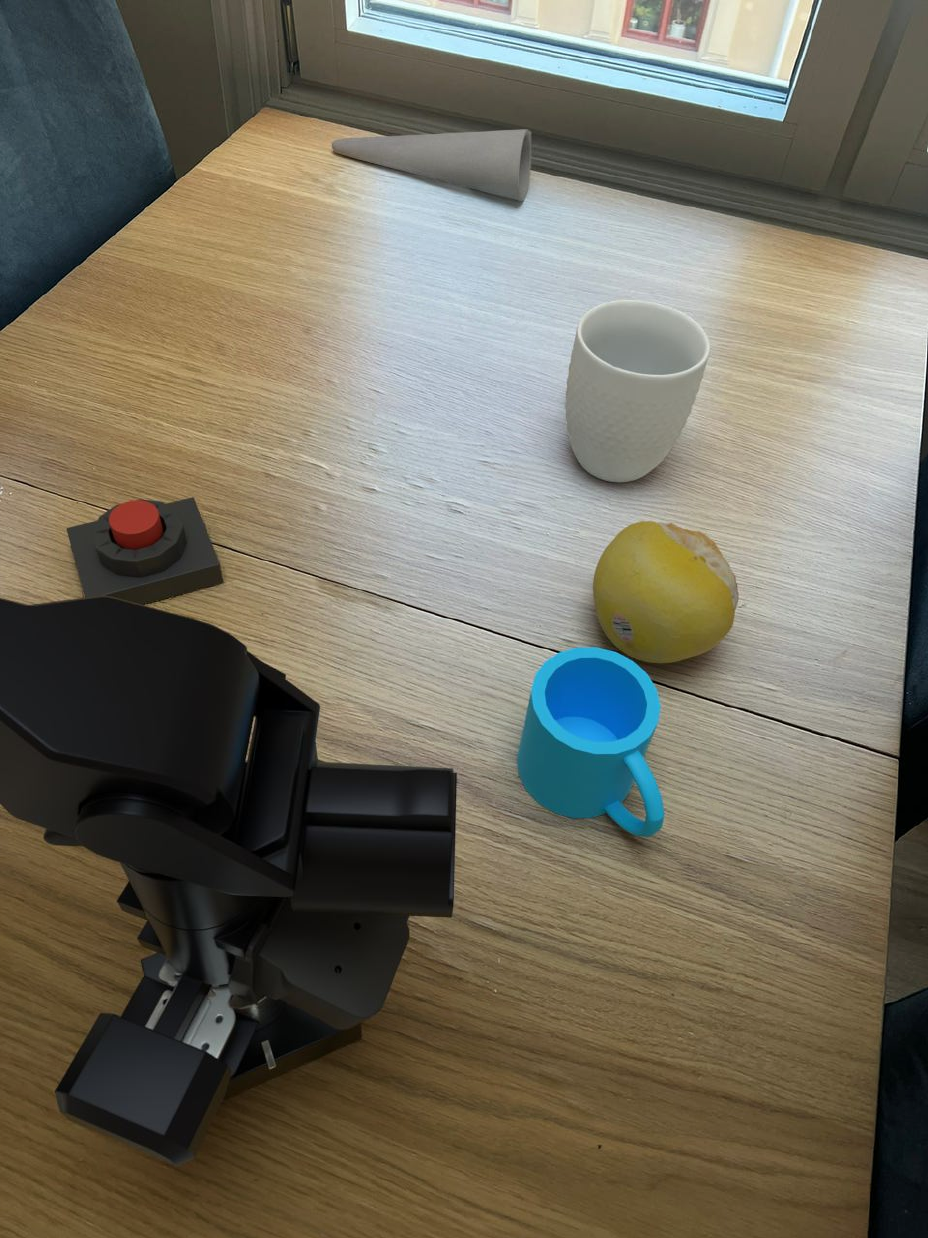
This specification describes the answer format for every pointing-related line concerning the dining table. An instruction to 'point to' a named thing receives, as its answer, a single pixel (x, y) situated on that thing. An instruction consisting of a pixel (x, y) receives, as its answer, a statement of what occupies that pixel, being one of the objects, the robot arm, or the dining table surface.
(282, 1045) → the dial panel
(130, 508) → the button
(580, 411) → the mug
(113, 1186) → the dining table surface
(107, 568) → the button block
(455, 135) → the gray cone
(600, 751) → the mug
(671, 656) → the fruit
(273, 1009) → the dial
